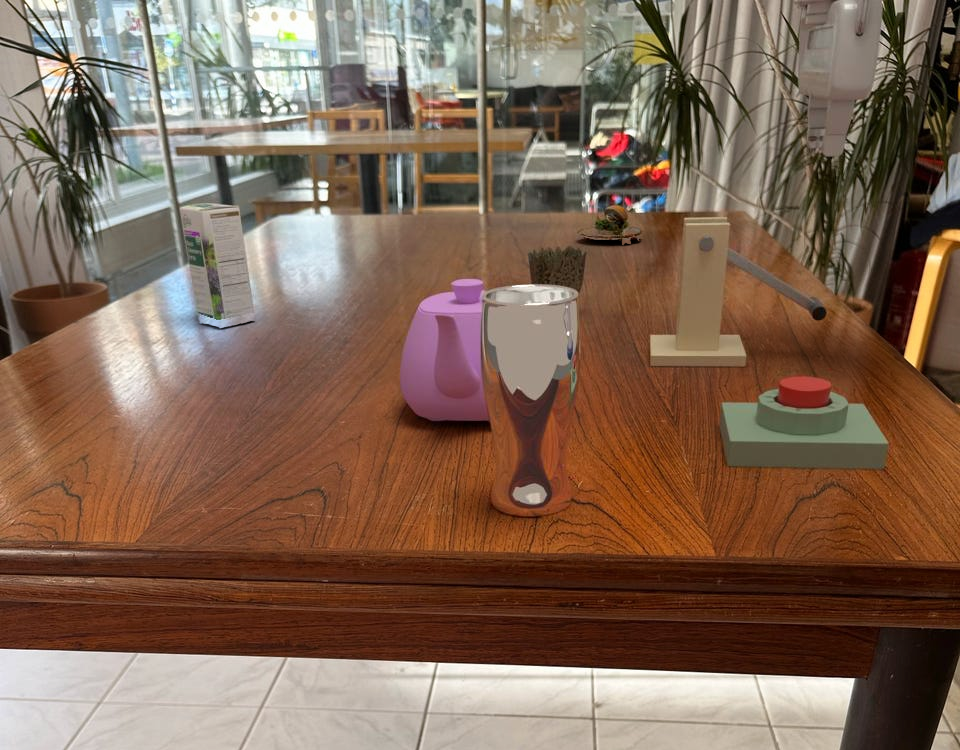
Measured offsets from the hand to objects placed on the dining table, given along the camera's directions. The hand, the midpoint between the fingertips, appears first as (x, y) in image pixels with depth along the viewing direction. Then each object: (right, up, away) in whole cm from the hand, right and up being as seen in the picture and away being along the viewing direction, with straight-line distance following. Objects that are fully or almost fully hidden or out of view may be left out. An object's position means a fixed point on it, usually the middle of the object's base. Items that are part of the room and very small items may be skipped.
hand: (823, 151), depth 92 cm
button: (-7, -28, -15) cm, 33 cm away
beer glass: (-30, -37, -21) cm, 52 cm away
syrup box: (-68, -5, +35) cm, 76 cm away
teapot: (-34, -26, -2) cm, 43 cm away
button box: (-7, -31, -13) cm, 35 cm away
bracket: (-10, -16, +13) cm, 23 cm away
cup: (-23, -5, +32) cm, 40 cm away
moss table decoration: (-10, +26, +82) cm, 86 cm away
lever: (-5, -10, +8) cm, 13 cm away
